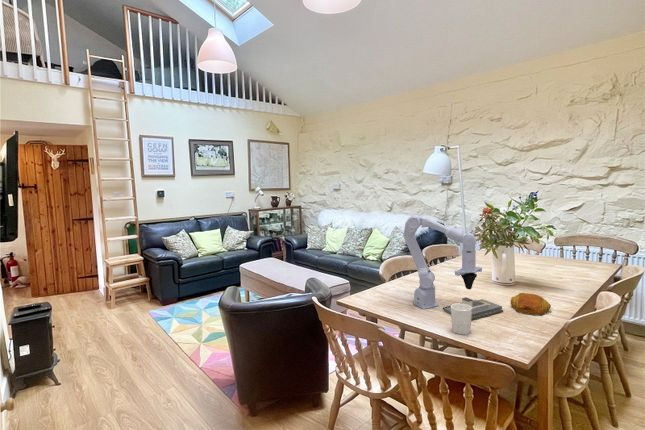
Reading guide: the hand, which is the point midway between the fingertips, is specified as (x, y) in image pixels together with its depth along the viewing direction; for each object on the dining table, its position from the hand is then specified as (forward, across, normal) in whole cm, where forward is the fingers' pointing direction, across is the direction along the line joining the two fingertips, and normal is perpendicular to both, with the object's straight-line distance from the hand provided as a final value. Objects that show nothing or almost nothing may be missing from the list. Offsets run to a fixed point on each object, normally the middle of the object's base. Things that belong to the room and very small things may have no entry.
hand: (468, 288), depth 162 cm
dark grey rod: (+10, -1, +5) cm, 11 cm away
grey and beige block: (+8, -4, -3) cm, 9 cm away
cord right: (+9, 0, -10) cm, 14 cm away
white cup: (+10, -20, -16) cm, 28 cm away
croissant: (+10, +22, -14) cm, 28 cm away
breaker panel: (+10, 0, -3) cm, 10 cm away
